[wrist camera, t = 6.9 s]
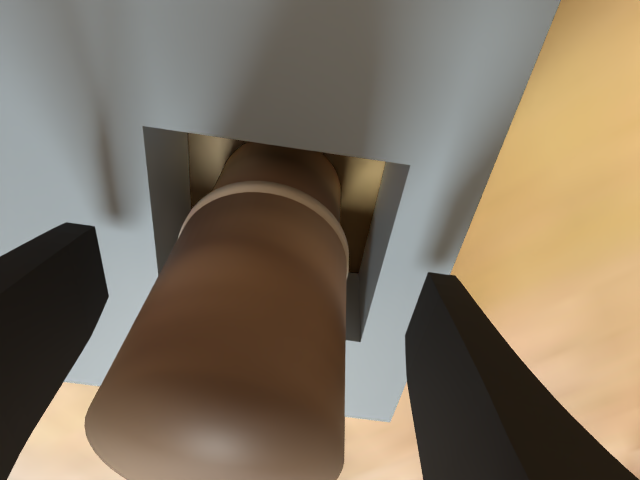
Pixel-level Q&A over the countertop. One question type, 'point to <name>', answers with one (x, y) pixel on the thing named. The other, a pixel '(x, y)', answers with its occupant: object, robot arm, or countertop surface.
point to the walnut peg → (238, 335)
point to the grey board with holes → (260, 134)
